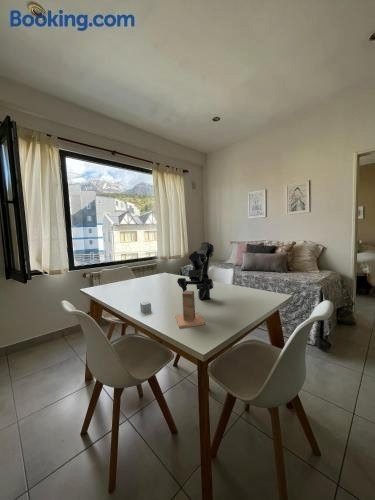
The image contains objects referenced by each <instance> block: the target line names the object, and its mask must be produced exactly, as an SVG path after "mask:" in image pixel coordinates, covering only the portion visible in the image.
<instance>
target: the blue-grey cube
mask: <svg viewBox="0 0 375 500" xmlns="http://www.w3.org/2000/svg"><path fill="white" fill-rule="evenodd" d="M139 306H140V312H141V313H143V314H146V313H149V312H152V303H151V302H150V301H148V300H147V301H142V302H140V305H139ZM145 312H146V313H145Z"/></svg>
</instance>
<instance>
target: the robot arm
mask: <svg viewBox="0 0 375 500" xmlns="http://www.w3.org/2000/svg"><path fill="white" fill-rule="evenodd" d="M199 247H200V248H199V249H198V250H197V251H193V252H192V253H191V254H190V255H189V256H188V258H189V262H190V265H191V267H192V269H188V274H187V277H188V279H189V280H187V278H185V277H178V278H177V281H176V282H177V284H178V286H179V288H181V289H182V293H183V292H184V291H188V290H187V289H188V287H187V286H188V285H191V286H194V285H195V286H196V287H195V288H196V290H198V291H197V293H198V294H197V295H198V296H197V298H198V299H200V301H205V300H207V301H208V300H212V299H211V294H210V293H211V291H210V290H212V289H214V282H213V281H214V280H213V279H212V278H210V276H209V270H210V269H209V268H210V261H211V257H213V256H214V253H215V246H214V245H213V244H211V243H210V242H209V241H205V242H204V241H203V242H201V245H200V246H199Z"/></svg>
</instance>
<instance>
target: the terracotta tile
mask: <svg viewBox="0 0 375 500" xmlns="http://www.w3.org/2000/svg"><path fill="white" fill-rule="evenodd" d="M174 317H175V320H176V323H177V326H178V328H179V329H182V328H188V327H189V328H190V327H195V326H196V327H197V326H203V325H206V321H205V320H204V319H203V317H202V316H201V314H200V313H199V312H195V318H194V320H193V321H187V320H184V318H183V313H181V314H175V315H174Z"/></svg>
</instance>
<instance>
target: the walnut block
mask: <svg viewBox="0 0 375 500" xmlns="http://www.w3.org/2000/svg"><path fill="white" fill-rule="evenodd" d="M181 295H182V314H183V318H184V320H187V321H193V320H194V318H195V313H196V303H195V290H186V291H184V292H183V291H182V293H181Z"/></svg>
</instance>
